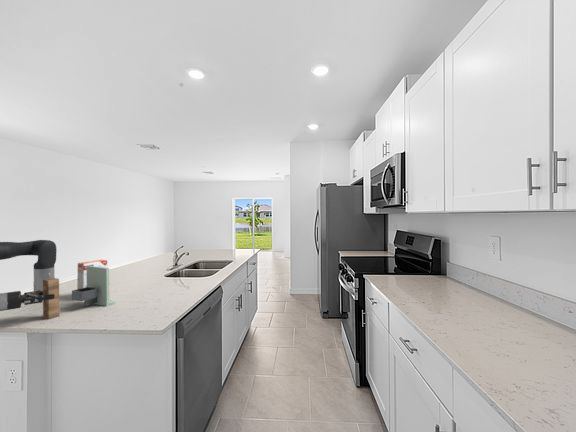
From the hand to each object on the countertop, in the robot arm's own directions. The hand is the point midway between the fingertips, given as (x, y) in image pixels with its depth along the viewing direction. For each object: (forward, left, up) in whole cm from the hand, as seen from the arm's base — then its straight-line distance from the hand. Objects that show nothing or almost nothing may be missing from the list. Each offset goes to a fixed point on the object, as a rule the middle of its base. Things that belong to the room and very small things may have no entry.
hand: (53, 294), depth 139 cm
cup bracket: (0, +18, -11) cm, 21 cm away
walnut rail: (-1, -1, -11) cm, 11 cm away
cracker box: (-15, +28, -11) cm, 34 cm away
